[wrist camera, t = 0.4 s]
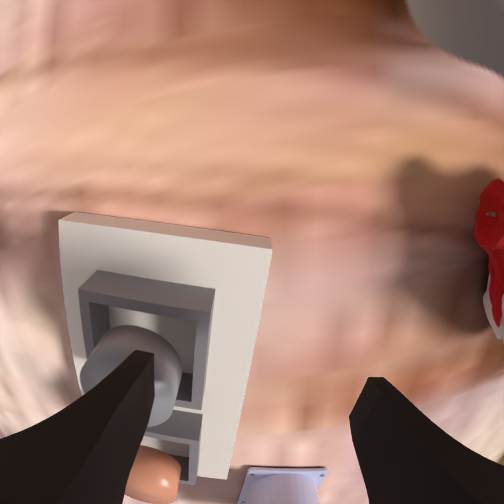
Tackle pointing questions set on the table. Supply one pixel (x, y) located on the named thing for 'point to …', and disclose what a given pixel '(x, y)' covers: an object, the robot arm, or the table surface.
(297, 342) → the table surface
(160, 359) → the grey low dome
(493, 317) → the white red irregular piece
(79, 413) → the robot arm
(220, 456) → the button panel
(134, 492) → the terracotta button
